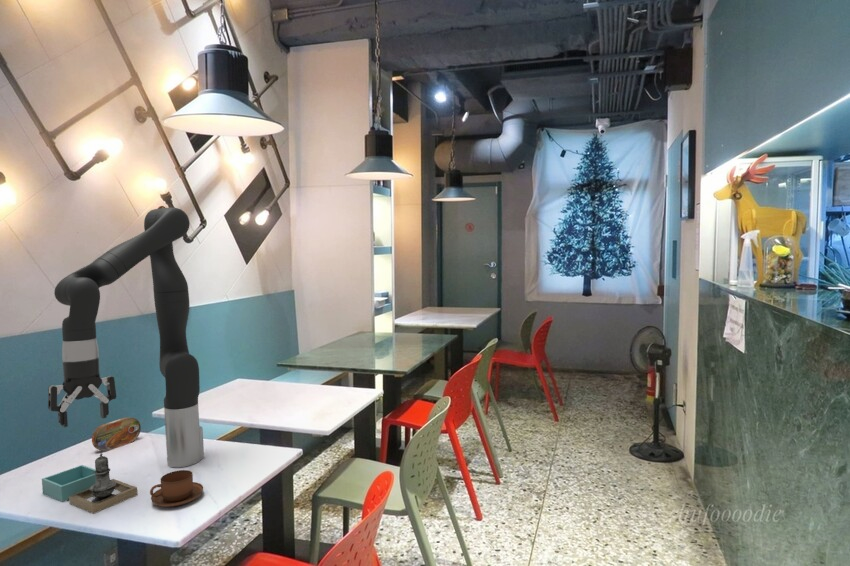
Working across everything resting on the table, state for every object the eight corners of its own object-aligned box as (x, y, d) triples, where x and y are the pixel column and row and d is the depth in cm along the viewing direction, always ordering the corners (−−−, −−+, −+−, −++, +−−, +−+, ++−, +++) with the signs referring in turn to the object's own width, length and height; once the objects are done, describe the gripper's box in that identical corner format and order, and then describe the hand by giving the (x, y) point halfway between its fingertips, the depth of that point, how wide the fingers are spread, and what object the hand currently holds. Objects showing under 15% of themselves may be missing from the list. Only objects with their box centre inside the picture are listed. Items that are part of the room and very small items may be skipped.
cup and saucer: (169, 516, 126) (168, 490, 125) (141, 504, 132) (140, 480, 132) (213, 495, 136) (212, 472, 135) (185, 485, 142) (184, 462, 142)
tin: (96, 455, 165) (95, 428, 164) (90, 453, 166) (89, 427, 166) (142, 439, 178) (140, 414, 178) (136, 437, 180) (134, 413, 179)
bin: (83, 478, 147) (82, 464, 147) (103, 486, 142) (102, 471, 142) (42, 493, 139) (41, 478, 138) (62, 502, 134) (61, 486, 133)
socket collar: (113, 486, 142) (113, 478, 142) (137, 494, 137) (137, 487, 137) (69, 503, 133) (69, 495, 133) (93, 513, 127) (92, 505, 127)
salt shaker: (104, 505, 131) (101, 458, 130) (84, 503, 132) (81, 457, 132) (122, 494, 137) (119, 449, 136) (103, 493, 138) (100, 448, 137)
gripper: (107, 351, 139) (110, 412, 140) (42, 360, 128) (46, 426, 129) (117, 354, 134) (121, 417, 135) (51, 364, 123) (55, 432, 124)
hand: (84, 421), depth 132 cm, fingers open, 8 cm apart
